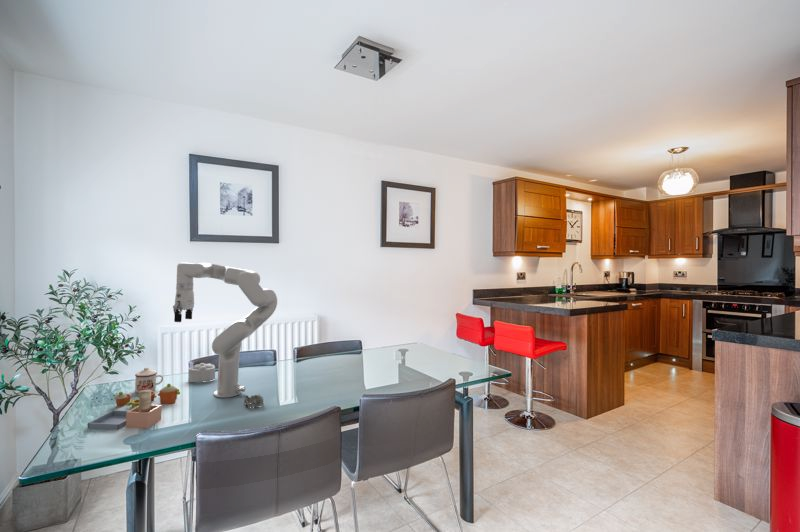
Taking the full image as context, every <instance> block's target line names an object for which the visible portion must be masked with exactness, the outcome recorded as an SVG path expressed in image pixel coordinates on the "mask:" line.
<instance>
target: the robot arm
mask: <svg viewBox="0 0 800 532" xmlns="http://www.w3.org/2000/svg"><path fill="white" fill-rule="evenodd" d="M194 278H195V279H203V278H209V279H215V280H221V281H223V282H224V283H225V284H228V285H233V286H238V287H239V289H240V291H241V292H242V293H243V294H244V296H245V297H246V298H247V299H248V300H249V301H250V303H251V305H253V306H255V308H254V309H253V310H251V312H249V313H248V314H247V315H245V316H244V317H243V318H241V319H239V320H238V319H237V320H236V321H234V322H233V323H231V324H230V325H229V326H228V327H226V328H225V329H224V330H223V331H222V332H220V333H219V334H218V335H217V336H216V337H215V338H214V339H213V341H212V343H211V349H212V352H213V353H214V354H215V355H218V356H219V357H218V366H217V367H218V369H217V371H218V372H217V389H216V390H214V392H213V396H214V397H216V398H221V399H224V398H226V399H227V398H232V397H233V398H234V397H236V396H238V395H240V394H241V393H242V392H243V393H244V392H246V390H247V389H246V386H241V384H240V383H239V370H240V369H239V368H240V366H239V365H240V353H241V347H242V341H244V340H245V339H247V338H248V337H251V335H253V334H254V333H255V332H256V330H258V329H259V328H260V327H261V326H262V325H264V323H265V322H267V321H268V319H270V317H272V316H273V314H274V313H275V311H276V309H277V305H278V297H277V294H276V293H275V291H274V290H273V289H270V288H262V286H261V285H260V282H261V276H260V274H259V272H256V271H254V270H249V269H243V268H242V269H241V268H238V267H237V268H236V267H231V266H225V265H222V264H221V265H220V264H214V263H211V262H208V263H207V262H200V263H199V262H197V263H192V262H179V263H178V264H177V265H176V285H175V286H176V287H175V290H176V292H175V300H174V305H173V306H172V310H173V314H174V320H173V321H174V323H182V319H183V318H182V317H183V314H182V313H183V311H185V314H184V315H185V316H184V317H185V318H184V319H185V320H192V319H193V310H194V307H195V292H194V280H195V279H194Z"/></svg>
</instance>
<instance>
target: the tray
mask: <svg viewBox="0 0 800 532" xmlns="http://www.w3.org/2000/svg"><path fill="white" fill-rule="evenodd" d="M128 411H129V410H124V409H123V410H122V409H121V410H120V409H119V410H118V409H112V410H111V411H109V412H107V413H105V414H103V415H101V416H99V417H97V418H95V419H93V420H91V421H90V422H89V421H88V423H87V429H88V428H90V429H92V430H110V429H111V430H112V431H113V430H114V431H115V430H117V431H118V430H121V429H122V428H124V427H126V412H128Z"/></svg>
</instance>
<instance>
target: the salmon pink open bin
mask: <svg viewBox="0 0 800 532" xmlns="http://www.w3.org/2000/svg"><path fill="white" fill-rule="evenodd" d="M162 408H163V404H151V409H150V411H149V412H139V406H137V407H135V408H131V409H130V410H127V411H128V412H126V426H125V428H126V429H127V428H128V429H129V428H130V429H131V428H132V429H149V428H150V427H152V426H154V425H155V424H156V423H159V422H160V421H161V420H162V412H163V411H162Z"/></svg>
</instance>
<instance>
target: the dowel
mask: <svg viewBox="0 0 800 532" xmlns="http://www.w3.org/2000/svg"><path fill="white" fill-rule="evenodd" d="M138 396H139V397H138V399H139V412H149V411H150V409H151V403H152V402H151V390H142V391H140V392H139V393H138Z"/></svg>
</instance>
